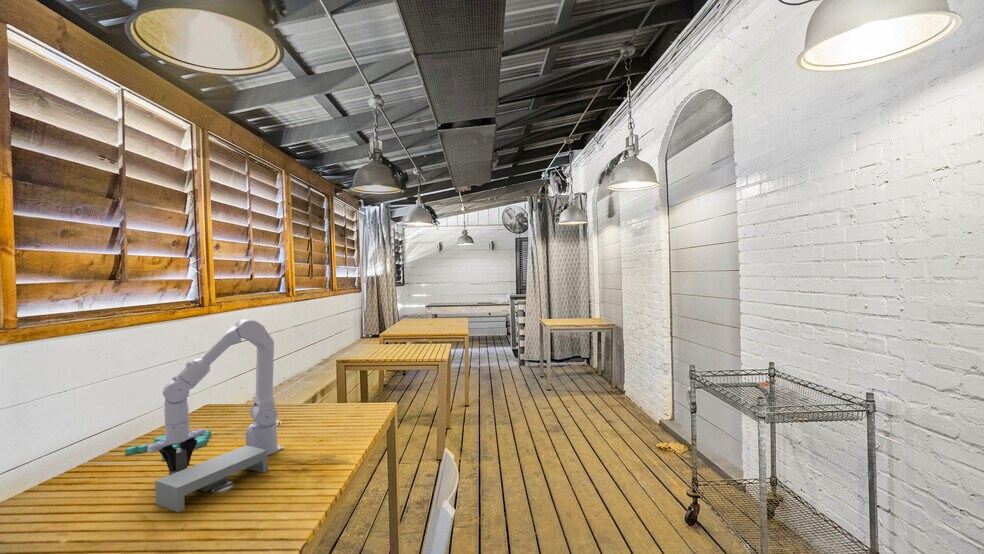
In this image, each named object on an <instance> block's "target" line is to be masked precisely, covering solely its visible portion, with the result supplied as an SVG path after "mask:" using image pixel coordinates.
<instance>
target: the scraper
mask: <svg viewBox="0 0 984 554" xmlns="http://www.w3.org/2000/svg"><path fill="white" fill-rule="evenodd" d="M175 464H176V469H175V471H174V472H171V471H169V470H168V475H171V474H174V473H176V472H179V471H181V470H184V469H186V468H189V466H188V465H187V450H186V449H182V448H181V447H180V448H177V451H176V457H175ZM222 482H229V476H227V477H225V478H222V479H220V480H218V481H216V482H213V483H211V484H209V485H206V486H204V487H202V488H200V489H199V490H201V491H203V492H207V491H210V490H212V487H213V486H215V485H217V484H219V483H222Z"/></svg>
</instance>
